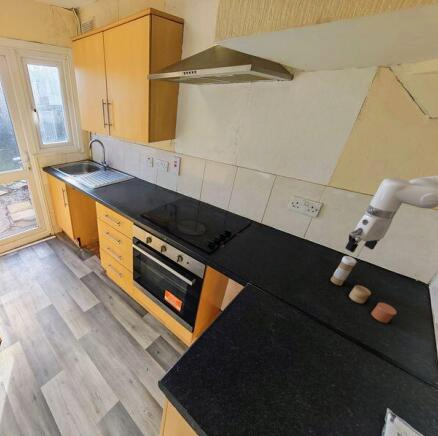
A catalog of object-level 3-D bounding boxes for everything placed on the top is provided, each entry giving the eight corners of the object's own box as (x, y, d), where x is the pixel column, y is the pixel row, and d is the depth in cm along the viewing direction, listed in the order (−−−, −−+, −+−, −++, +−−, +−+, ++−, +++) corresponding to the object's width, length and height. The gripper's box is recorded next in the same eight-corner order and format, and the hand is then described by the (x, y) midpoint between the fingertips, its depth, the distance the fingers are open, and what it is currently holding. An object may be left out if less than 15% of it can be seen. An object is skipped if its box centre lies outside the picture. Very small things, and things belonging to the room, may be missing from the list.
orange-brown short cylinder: (377, 310, 89) (384, 301, 87) (392, 321, 85) (400, 312, 82) (367, 312, 88) (374, 303, 86) (382, 324, 84) (389, 315, 81)
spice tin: (355, 292, 97) (361, 284, 94) (367, 302, 93) (374, 293, 90) (345, 294, 96) (351, 286, 93) (357, 304, 92) (364, 295, 89)
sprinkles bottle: (335, 277, 105) (349, 254, 98) (345, 284, 101) (359, 261, 94) (327, 279, 104) (340, 256, 97) (336, 286, 100) (351, 263, 93)
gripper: (372, 218, 79) (350, 257, 87) (410, 214, 82) (385, 252, 91) (351, 209, 85) (333, 246, 94) (387, 205, 89) (366, 241, 97)
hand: (358, 248), depth 92 cm, fingers open, 9 cm apart
